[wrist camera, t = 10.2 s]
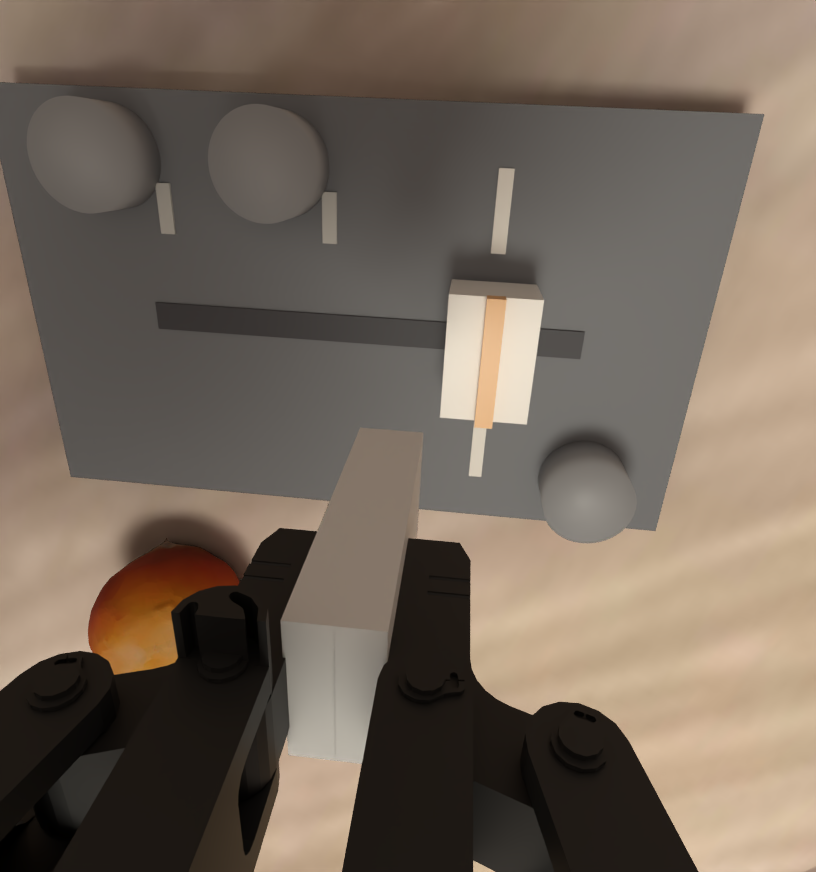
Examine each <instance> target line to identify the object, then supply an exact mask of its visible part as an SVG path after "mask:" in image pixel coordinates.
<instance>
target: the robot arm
mask: <svg viewBox="0 0 816 872" xmlns="http://www.w3.org/2000/svg"><path fill="white" fill-rule="evenodd" d="M422 446H423V433H422V432H410V431H397V430H385V429H372V428H360V429H359V432H358V434H357V437H356V439H355V441H354V444H353V446H352V449H351V451H350V454H349V456H348V458H347V461H346V463H345V466H344V468H343V470H342V473H341V475H340V478H339V480H338V483H337V485H336V487H335V490H334V492H333V495H332V497H331V500H330V502H329V504H328V507H327V509H326V512H325V514H324V516H323V519H322V521H321V524H320V526H319V529H318V531H306V530H295V529H284V528H279V529H278V530H277V531H276V532H274V533H273V534H272V535H270V536H269V537H268V538H266V539H265V540H264V541H262V542H261V544H260V546H259V548H258V549H257V551H256V553H255V555H254V557H253V559H252V562H251V564H249V566H248V568H247V570H246V571H245V573H244V577H243V579H241V580H240V582H239V584H238V586H236V585H231V586H215V587H211V588H208V589H204V590H200V591H198V592H196V593H194V594H192V595H190V596H189V597H187V598H185V599H183V600H182V601H181V602H180V603H179V604H178V605H177V606H176V607H175V608H174V609H173V610H172V611H171V617H172V623H173V629H174V636H175V642H176V648H177V655H178V658H177V660H176V662H175V663H172V664H170V665H167V666H163V667H159V668H154V669H149V670H142V671H135V672H129V673H122V674H116V675H114V673H113V670H112V668H111V665H110V663H109V661H108V660H106V659H105V658H103V657H102V656H100V655H99V654H97V653H90V652H83V651H78V652H71V653H64V654H59V655H56V656H54V657H51V658H48V659H46V660H43V661H41V662H39V663H37V664H35V665H34V666H32V667H31V668H29V669H28V670H26V671H25V672H23V673H22V674H20V675H19V676H18V677H17V678H15V679H14V680H13V681H12V682H10V683H9V684H8V685H7V686H6V687H4V688H3V689H2V690H1V691H0V872H254V868H255V865H256V862H257V858H258V855H259V852H260V849H261V845H262V842H263V839H264V835H265V832H266V829H267V825H268V822H269V819H270V816H271V812H272V809H273V806H274V802H275V799H276V796H277V792H278V786H279V776H280V774H279V758H280V755H281V752H282V749H283V746H284V743H285V740H286V737H287V739H288V755H292V756H300V757H309V758H317V759H326V760H334V761H342V762H351V763H359V764H362V766H361V772H360V777H359V783H358V788H357V793H356V799H355V804H354V810H353V815H352V820H351V826H350V831H349V837H348V842H347V848H346V853H345V858H344V864H343V869H342V872H473V860H474V861H476V862H478V863H480V864H482V865H484V866H486V867H488V868H490V869H491V870H493V871H495V872H698V870H697V868H696V866H695V864H694V863H693V861H692V859H691V857H690V855H689V853H688V851H687V849H686V848H685V846H684V844H683V842H682V840H681V838H680V836H679V834H678V833H677V831H676V829H675V827H674V825H673V823H672V821H671V819H670V818H669V816H668V814H667V812H666V810H665V808H664V806H663V804H662V803H661V801H660V799H659V797H658V795H657V793H656V791H655V789H654V788H653V786H652V784H651V782H650V780H649V778H648V776H647V774H646V773H645V771H644V769H643V767H642V765H641V763H640V761H639V759H638V758H637V756H636V754H635V752H634V750H633V748H632V746H631V744H630V742H629V741H628V739H627V738H626V737H625V735H624V734H623V733H622V731H621V730H620V729H619V727H618V726H617V725H616V724H615V723H614V722H613V721H611V720H610V719H609V718H607V717H606V716H605V715H603V714H602V713H601V712H599V711H597V710H595V709H592V708H590V707H587V706H584V705H582V704H579V703H568V702H557V703H553V704H550V705H546V706H543V707H542V708H540V709H539V710H538V711H537V712H536V713H535V714H534V715H531V714H528V713H526V712H523V711H521V710H518V709H516V708H513V707H511V706H509V705H507V704H505V703H503V702H501V701H499V700H497V699H496V698H494V697H493V696H492V695H491V694H489V693H488V692H487V691H485V689H484V688H483V687H482V686H481V685H480V683H479V682H478V681H477V679H476V677H475V675H474V673H473V671H472V668H471V662H470V559H469V557H468V556H467V554H466V552H465V551H464V549H463V548H462V546H461V544H460V543H455V542H444V541H433V540H423V539H416V536H417V529H418V512H419V496H420V479H421V462H422Z"/></svg>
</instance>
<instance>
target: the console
mask: <svg viewBox="0 0 816 872" xmlns="http://www.w3.org/2000/svg"><path fill="white" fill-rule="evenodd" d="M763 117H764V114H748V113H724V112H700V111H676V110H652V109H628V108H604V107H580V106H556V105H532V104H508V103H484V102H460V101H436V100H412V99H388V98H364V97H340V96H316V95H293V94H269V93H245V92H221V91H197V90H173V89H149V88H125V87H101V86H77V85H53V84H29V83H5V82H0V160H1V165H2V169H3V173H4V178H5V182H6V187H7V191H8V196H9V200H10V205H11V209H12V214H13V218H14V223H15V227H16V232H17V236H18V241H19V245H20V250H21V254H22V259H23V263H24V268H25V272H26V277H27V281H28V286H29V290H30V295H31V299H32V304H33V308H34V313H35V317H36V322H37V326H38V331H39V335H40V340H41V344H42V349H43V353H44V358H45V362H46V367H47V371H48V376H49V380H50V385H51V389H52V394H53V398H54V403H55V407H56V412H57V416H58V421H59V425H60V430H61V434H62V439H63V443H64V448H65V452H66V457H67V461H68V466H69V470H70V475H71V477H78V478H89V479H100V480H111V481H122V482H132V483H143V484H154V485H165V486H176V487H186V488H197V489H208V490H219V491H230V492H240V493H251V494H262V495H273V496H284V497H294V498H305V499H316V500H327V501H330V500H331V497H332V495H333V492H334V490H335V487H336V485H337V483H338V480H339V478H340V475H341V473H342V470H343V468H344V466H345V463H346V461H347V458H348V456H349V454H350V451H351V449H352V446H353V444H354V441H355V439H356V437H357V434H358V432H359V429H360V428H372V429H385V430H397V431H410V432H422V433H423V446H422V462H421V479H420V496H419V509H424V510H435V511H445V512H456V513H467V514H478V515H489V516H499V517H510V518H521V519H532V520H543V521H547V523H548V525H549V526H550V527H551V529H552V530H553V531H554V532H556V533H557V534H558V535H560V536H561V537H563V538H565V539H567V540H570V541H573V542H578V543H596V542H601V541H604V540H607V539H610V538H612V537H614V536H616V535H617V534H619V533H620V532H621V531H622V530H624V529H625V528H629V529H640V530H651V531H655V530H656V527H657V523H658V519H659V515H660V511H661V508H662V504H663V500H664V496H665V492H666V488H667V485H668V481H669V477H670V473H671V469H672V465H673V462H674V458H675V454H676V450H677V446H678V443H679V439H680V435H681V431H682V427H683V423H684V420H685V416H686V412H687V408H688V404H689V400H690V397H691V393H692V389H693V385H694V381H695V377H696V374H697V370H698V366H699V362H700V358H701V355H702V351H703V347H704V343H705V339H706V335H707V332H708V328H709V324H710V320H711V316H712V312H713V309H714V305H715V301H716V297H717V293H718V290H719V286H720V282H721V278H722V274H723V270H724V267H725V263H726V259H727V255H728V251H729V247H730V244H731V240H732V236H733V232H734V228H735V224H736V221H737V217H738V213H739V209H740V205H741V202H742V198H743V194H744V190H745V186H746V182H747V179H748V175H749V171H750V167H751V163H752V159H753V156H754V152H755V148H756V144H757V140H758V137H759V133H760V129H761V125H762V121H763ZM452 279H457V280H472V281H488V282H504V283H519V284H535V285H537V286H538V288H539V290H540V293H541V295H542V297H543V299H544V305H543V312H542V319H541V326H540V333H539V341H538V348H537V355H536V362H535V369H534V376H533V383H532V391H531V398H530V405H529V412H528V419H527V425H525V424H513V423H501V422H493V425H492V429H486V428H474V420H464V419H451V418H440V410H441V396H442V382H443V368H444V354H445V341H446V327H447V313H448V299H449V291H450V286H451V281H452Z"/></svg>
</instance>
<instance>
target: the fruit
mask: <svg viewBox="0 0 816 872" xmlns="http://www.w3.org/2000/svg"><path fill="white" fill-rule="evenodd" d="M238 584H239V580H238V578H237V576H236V574H235V572H234V571H233V570H232V568H231V567H230V566H229V565H228V564H227V563H225V562H224V561H223V560H221V559H219V558H217V557H215V556H214V555H212V554H211V553H209V552H208V551H206V550H204V549H202V548H200V547H194V546H188V545H179V544H173V543H171V542H169V541H168V540H167V538H166V541H165V542H164V543H163V544H161V545H160V546H158V547H156V548H154V549H153V550H151V551H150V552H149V553H146V554H145V555H143V556H141V557H139V558H138V559H136V560H134V561H132V562H131V563H129V564H128V565H127V566H125V567H124V568H123V569H122V570H120V571H119V572H118V573H116V574H115V575H114V576H112V577H111V578H110V579H109V580H108V582H107V583H106V584H105V585H104V587H103V588H102V590H101V591H100V593H99V595H98V597H97V599H96V601H95V604H94V606H93V608H92V610H91V615H90V620H89V627H88V638H89V645H90V648H91V650H92V651H93V653H97V654H99V655H100V656H102V657H103V658H105V659H106V660H108V661H109V663H110V665H111V668H112V670H113V673H114V675H116V674H122V673H129V672H135V671H142V670H149V669H154V668H159V667H163V666H167V665H170V664H172V663H175V662H176V660H177V658H178V655H177V648H176V642H175V636H174V629H173V623H172V617H171V611H172V610H173V609H174V608H175V607H176V606H177V605H178V604H179V603H180V602H181V601H182V600H183V599H185V598H187V597H189V596H190V595H192V594H194V593H196V592H198V591H200V590H204V589H208V588H211V587H215V586H231V585H236V586H238Z"/></svg>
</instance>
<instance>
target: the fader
mask: <svg viewBox="0 0 816 872" xmlns="http://www.w3.org/2000/svg"><path fill="white" fill-rule="evenodd" d="M543 305H544V299H543V297H542V295H541V293H540V290H539V288H538V286H537V285H535V284H519V283H504V282H488V281H472V280H457V279H452V281H451V286H450V291H449V299H448V313H447V327H446V341H445V354H444V368H443V382H442V396H441V410H440V418H451V419H464V420H474V428H486V429H492V425H493V422H501V423H513V424H525V425H527V419H528V412H529V405H530V398H531V391H532V383H533V376H534V369H535V362H536V355H537V348H538V341H539V333H540V326H541V319H542V312H543Z"/></svg>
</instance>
